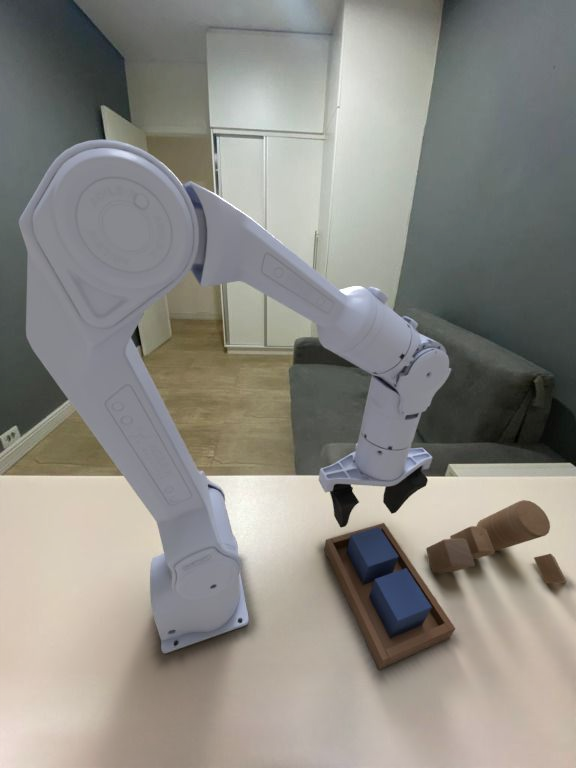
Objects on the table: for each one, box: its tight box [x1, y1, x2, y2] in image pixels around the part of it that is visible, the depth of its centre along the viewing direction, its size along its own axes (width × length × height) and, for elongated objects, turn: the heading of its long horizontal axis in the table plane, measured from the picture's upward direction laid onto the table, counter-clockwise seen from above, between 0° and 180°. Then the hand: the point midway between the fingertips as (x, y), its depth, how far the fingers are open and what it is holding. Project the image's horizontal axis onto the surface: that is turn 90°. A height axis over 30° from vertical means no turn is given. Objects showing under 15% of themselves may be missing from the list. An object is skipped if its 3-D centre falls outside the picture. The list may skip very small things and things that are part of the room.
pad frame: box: [323, 522, 456, 670], centre depth 39 cm, size 10×14×2 cm
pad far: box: [347, 527, 399, 585], centre depth 41 cm, size 4×4×4 cm
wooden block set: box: [425, 499, 567, 584], centre depth 41 cm, size 18×9×10 cm, turn 93°
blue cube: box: [369, 568, 432, 638], centre depth 36 cm, size 4×4×4 cm
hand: (365, 513), depth 41 cm, fingers open, 7 cm apart
